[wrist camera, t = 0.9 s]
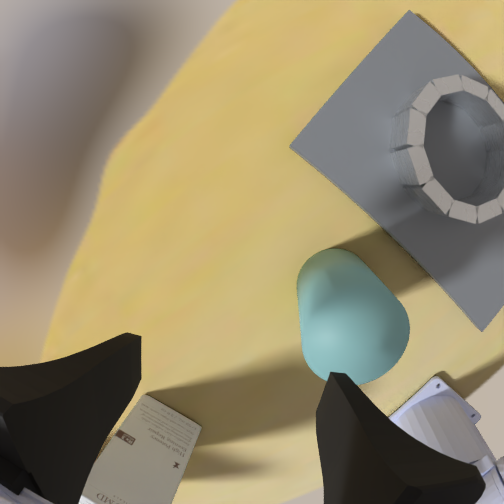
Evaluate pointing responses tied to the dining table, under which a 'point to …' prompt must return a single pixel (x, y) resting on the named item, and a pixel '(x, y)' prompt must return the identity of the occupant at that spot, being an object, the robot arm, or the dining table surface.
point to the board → (438, 153)
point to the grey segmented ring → (415, 159)
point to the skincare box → (143, 457)
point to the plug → (348, 318)
